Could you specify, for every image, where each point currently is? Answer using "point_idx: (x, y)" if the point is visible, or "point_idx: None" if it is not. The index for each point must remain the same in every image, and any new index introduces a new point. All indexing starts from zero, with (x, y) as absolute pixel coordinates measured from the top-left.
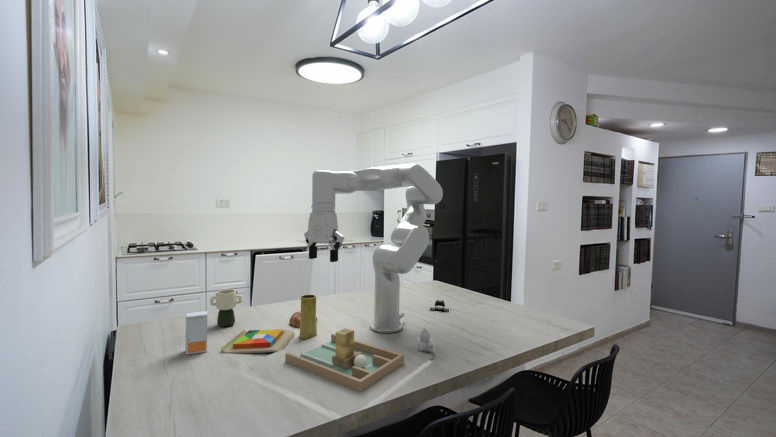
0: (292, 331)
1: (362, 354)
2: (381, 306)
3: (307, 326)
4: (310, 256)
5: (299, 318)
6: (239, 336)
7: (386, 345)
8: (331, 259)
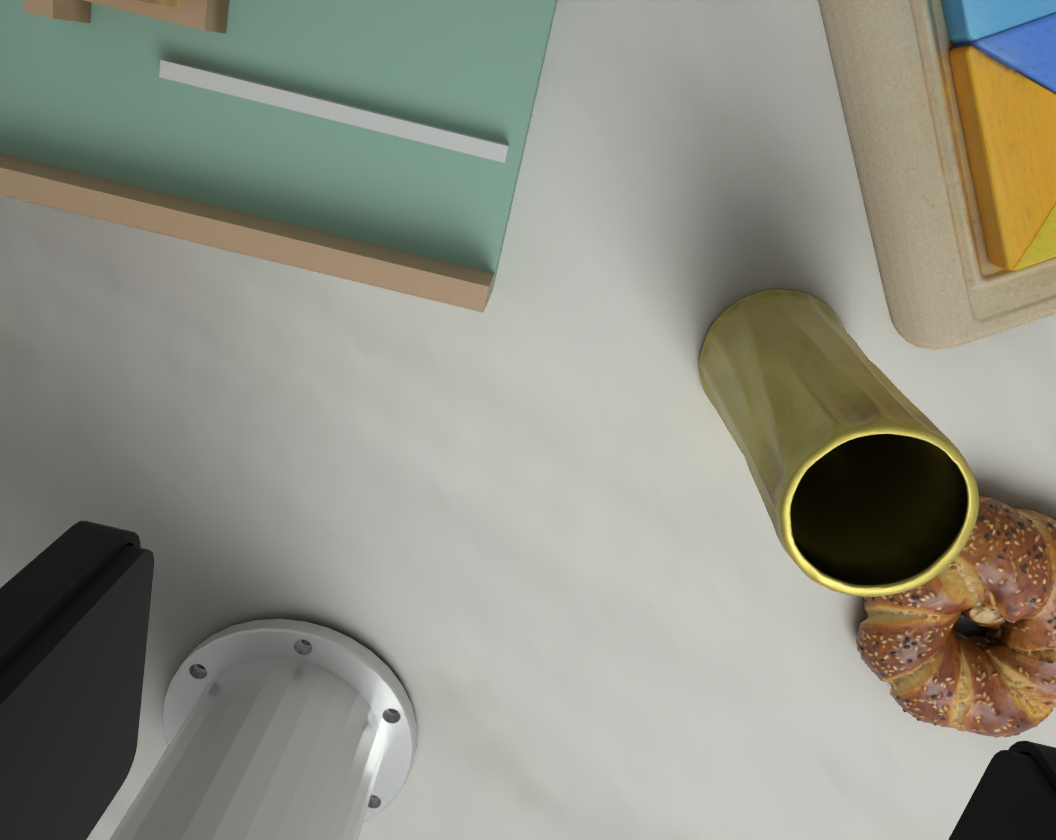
0: (929, 339)
1: (131, 139)
2: (217, 784)
3: (769, 332)
4: (1043, 794)
5: (988, 553)
6: None
7: (122, 426)
8: (43, 560)
